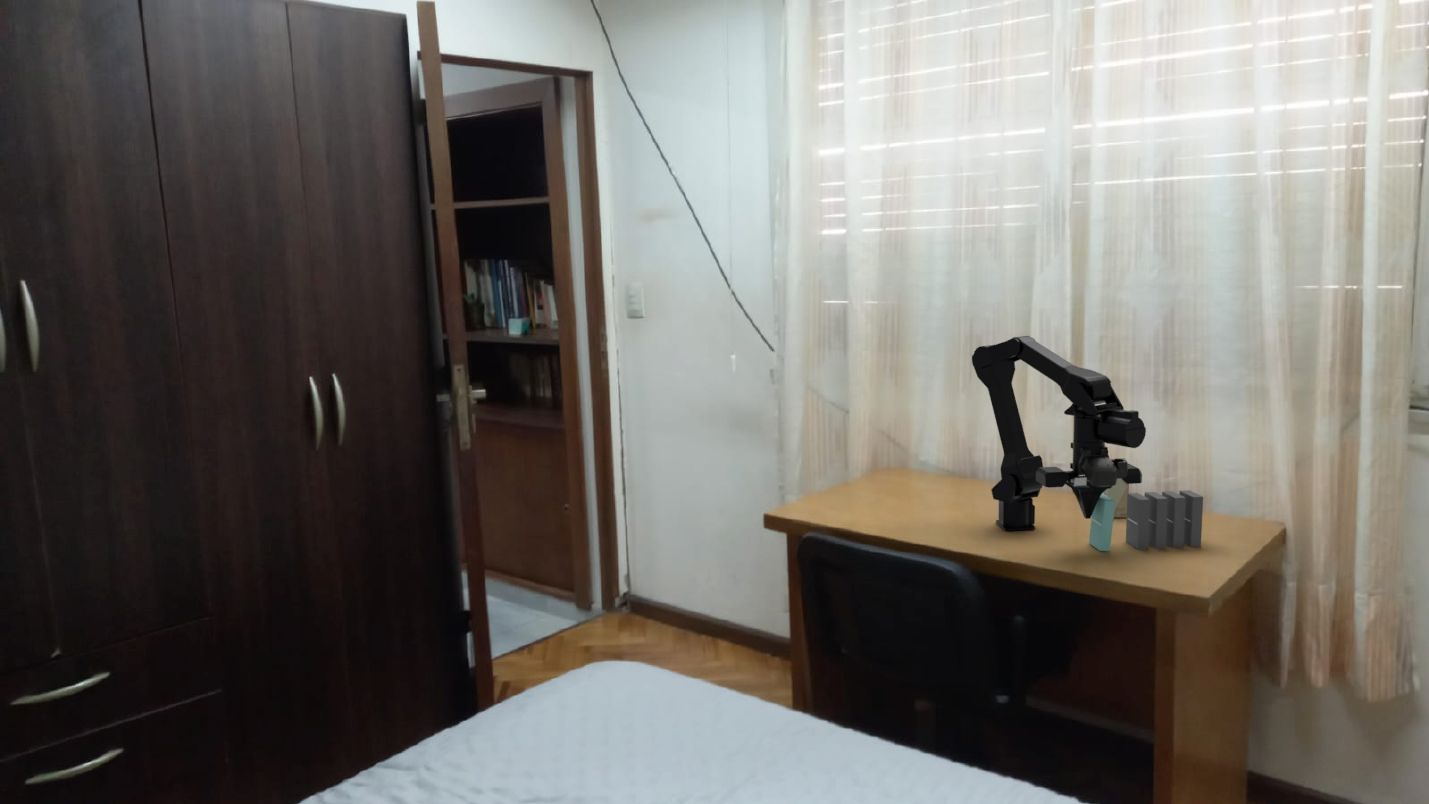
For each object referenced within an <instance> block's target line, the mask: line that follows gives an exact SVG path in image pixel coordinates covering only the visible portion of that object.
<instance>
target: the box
mask: <svg viewBox="0 0 1429 804" xmlns="http://www.w3.org/2000/svg"><path fill="white" fill-rule="evenodd" d="M1127 493H1130V484H1126V483H1125V482H1124V481H1123V480H1122V478H1118V479H1117V481H1116V485H1114V486H1112V488H1111V489H1107V490H1105V491H1104V492H1103V494H1104V495H1106V496H1107V497H1109V498H1111V499H1113V500H1114V501H1115V509H1114V518H1127Z"/></svg>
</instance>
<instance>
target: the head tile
mask: <svg viewBox="0 0 1429 804" xmlns="http://www.w3.org/2000/svg"><path fill="white" fill-rule="evenodd" d="M1114 509H1115V501H1114V500H1113V499H1111V498H1109V497H1107V496H1106V495H1104V493H1102V494H1101V496H1100V498H1099V499H1098V502H1097V504H1096V506H1095V509H1094V511H1093V513H1092V516H1091V518H1090V519H1091V520H1090V529H1089V538H1088V539H1089V541H1088V544H1090V545H1091V546H1093V547H1094V548H1096V550H1098V551H1100V552H1111V545H1112V534H1113V526H1114V519H1115V517H1114Z"/></svg>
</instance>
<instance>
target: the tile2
mask: <svg viewBox="0 0 1429 804" xmlns="http://www.w3.org/2000/svg"><path fill="white" fill-rule="evenodd" d="M1149 508H1150V499H1148V498H1146V497H1145V495H1142V494H1140V493H1139V492H1129V493H1127V517H1126V524H1125V525H1126V526H1125V527H1126V528H1125V543H1127V544H1129V545H1130V546H1132V547H1133V548H1134V549H1136V550H1139V551H1140V550H1143V551H1144V550H1148V549H1149V544H1148V535H1149Z"/></svg>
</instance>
